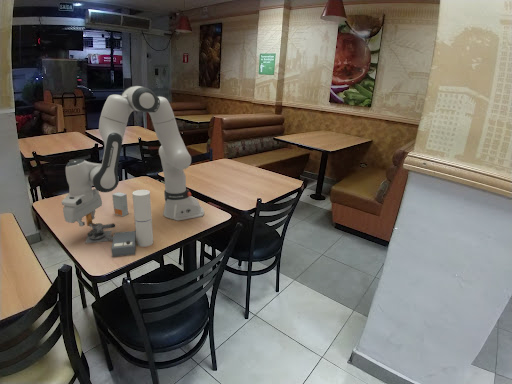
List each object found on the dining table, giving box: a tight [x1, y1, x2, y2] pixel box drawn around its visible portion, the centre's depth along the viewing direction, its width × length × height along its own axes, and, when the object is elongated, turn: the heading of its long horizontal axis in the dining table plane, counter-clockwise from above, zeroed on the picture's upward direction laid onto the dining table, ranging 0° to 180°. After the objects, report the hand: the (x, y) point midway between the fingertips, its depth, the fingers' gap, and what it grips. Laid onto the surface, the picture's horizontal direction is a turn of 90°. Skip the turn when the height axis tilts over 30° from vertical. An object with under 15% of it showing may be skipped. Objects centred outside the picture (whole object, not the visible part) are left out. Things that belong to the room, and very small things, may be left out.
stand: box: [84, 230, 137, 258], centre depth 137 cm, size 22×24×6 cm
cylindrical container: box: [132, 189, 154, 248], centre depth 135 cm, size 7×7×25 cm
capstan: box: [85, 213, 116, 240], centre depth 141 cm, size 13×12×10 cm
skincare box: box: [111, 191, 129, 217], centre depth 163 cm, size 6×4×12 cm
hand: (87, 222), depth 141 cm, fingers open, 5 cm apart
